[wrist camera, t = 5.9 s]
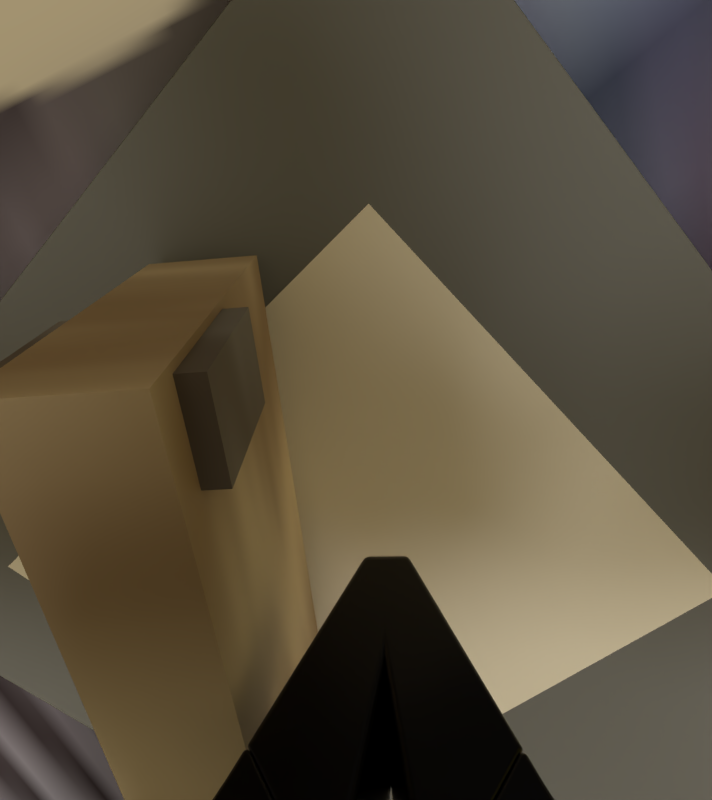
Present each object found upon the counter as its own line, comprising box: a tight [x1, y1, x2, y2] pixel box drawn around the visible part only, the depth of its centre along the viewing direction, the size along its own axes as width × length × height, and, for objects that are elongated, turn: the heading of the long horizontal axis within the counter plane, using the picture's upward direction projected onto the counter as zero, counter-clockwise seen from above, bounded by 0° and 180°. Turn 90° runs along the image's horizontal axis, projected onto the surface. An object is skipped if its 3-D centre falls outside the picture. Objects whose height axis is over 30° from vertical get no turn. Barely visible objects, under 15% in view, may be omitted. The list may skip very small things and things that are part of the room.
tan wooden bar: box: [0, 255, 318, 800], centre depth 10 cm, size 15×2×4 cm, turn 5°
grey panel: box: [0, 0, 712, 800], centre depth 14 cm, size 16×30×1 cm, turn 44°
